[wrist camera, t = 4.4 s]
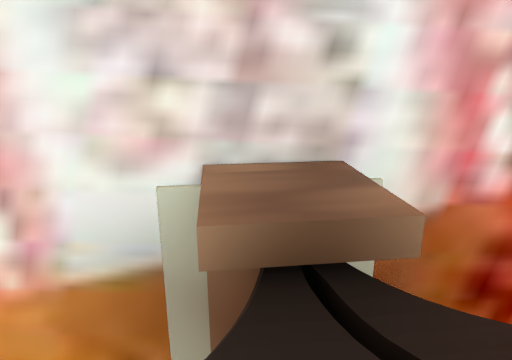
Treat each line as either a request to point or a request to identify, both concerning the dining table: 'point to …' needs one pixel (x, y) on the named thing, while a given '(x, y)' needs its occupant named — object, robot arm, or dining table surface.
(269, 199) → the brown t-shaped bar
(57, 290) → the dining table surface
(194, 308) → the mat
